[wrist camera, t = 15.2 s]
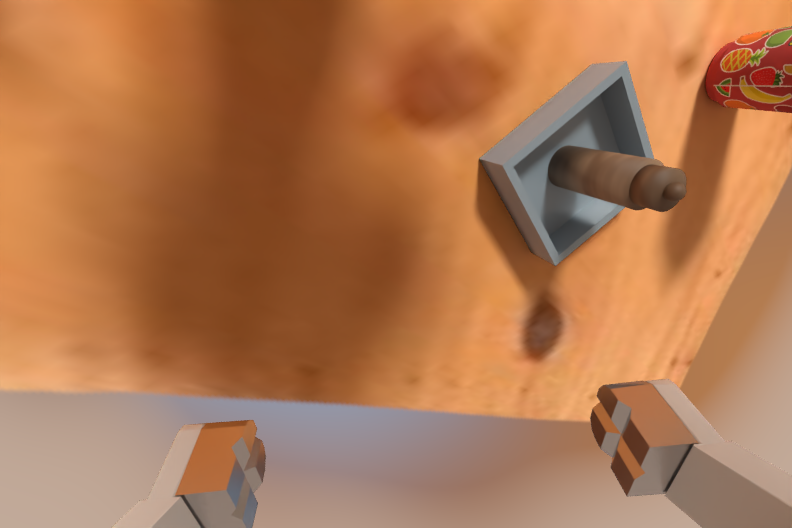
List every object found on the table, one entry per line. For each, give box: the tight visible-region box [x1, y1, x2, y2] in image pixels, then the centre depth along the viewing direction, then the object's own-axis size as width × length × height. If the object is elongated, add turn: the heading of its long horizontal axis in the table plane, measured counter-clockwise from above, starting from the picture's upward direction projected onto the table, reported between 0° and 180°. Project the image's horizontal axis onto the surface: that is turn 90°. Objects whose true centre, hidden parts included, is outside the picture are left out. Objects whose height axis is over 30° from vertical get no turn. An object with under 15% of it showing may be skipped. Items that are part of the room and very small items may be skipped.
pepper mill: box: [548, 145, 686, 212], centre depth 33 cm, size 4×4×12 cm
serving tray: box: [479, 61, 654, 266], centre depth 38 cm, size 14×13×4 cm
